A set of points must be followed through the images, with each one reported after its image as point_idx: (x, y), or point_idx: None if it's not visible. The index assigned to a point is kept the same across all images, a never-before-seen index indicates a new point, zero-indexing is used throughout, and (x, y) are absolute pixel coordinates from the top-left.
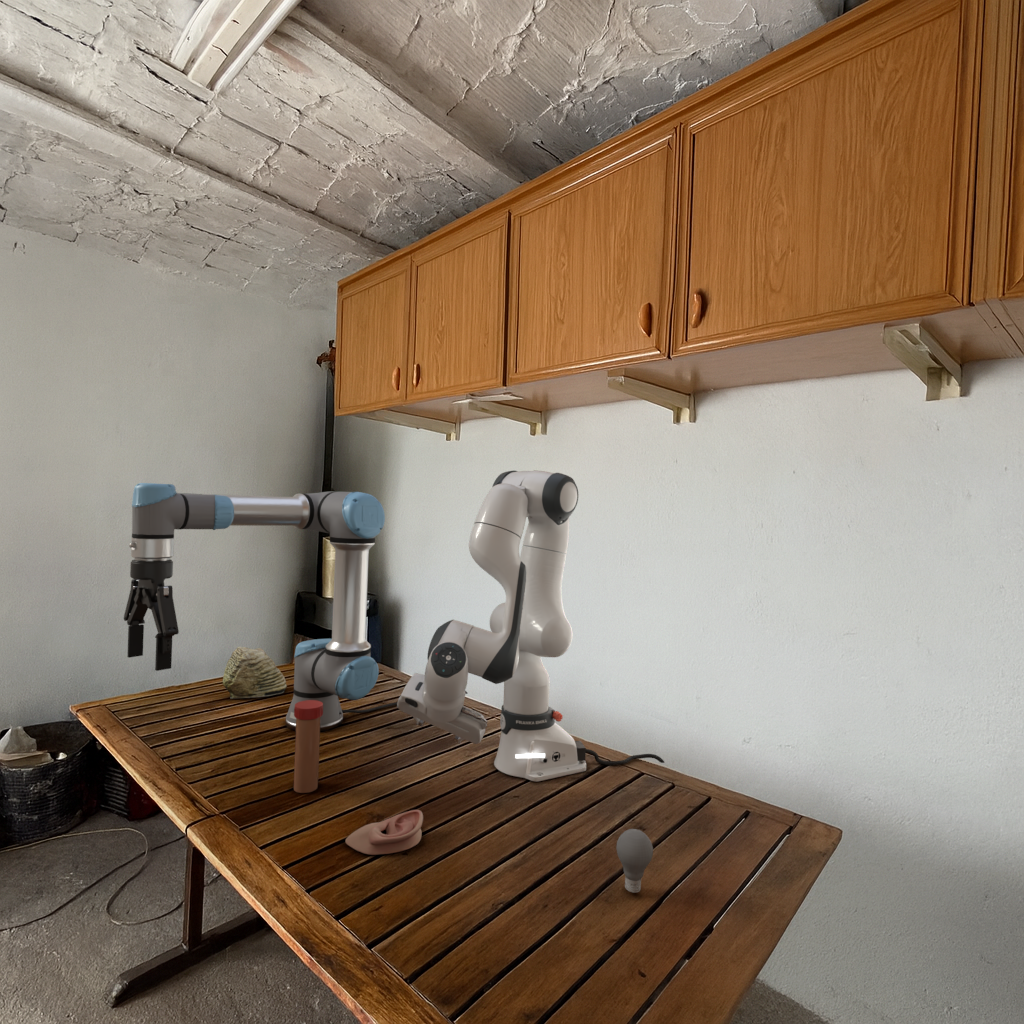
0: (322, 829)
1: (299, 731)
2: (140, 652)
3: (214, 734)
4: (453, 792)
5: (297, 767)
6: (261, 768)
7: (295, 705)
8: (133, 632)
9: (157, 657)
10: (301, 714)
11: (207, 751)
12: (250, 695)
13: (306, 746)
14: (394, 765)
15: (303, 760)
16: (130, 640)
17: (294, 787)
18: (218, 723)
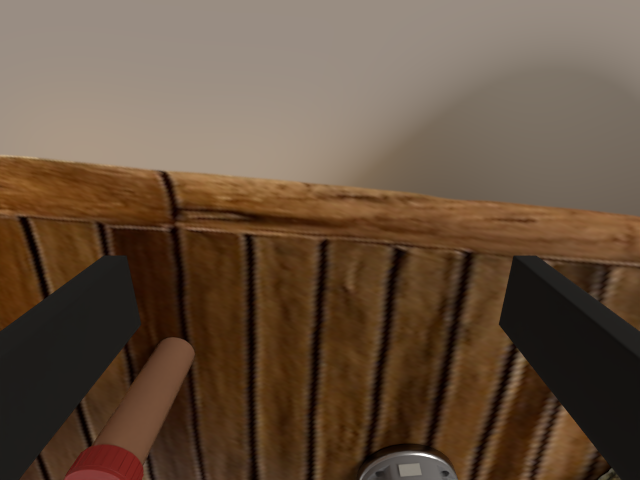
0: (30, 303)
1: (115, 421)
2: (510, 324)
3: (498, 358)
4: (36, 463)
5: (152, 365)
6: (293, 343)
7: (105, 473)
8: (632, 390)
9: (49, 297)
10: (83, 458)
11: (433, 318)
12: (611, 475)
13: (119, 403)
14: (165, 464)
15: (135, 380)
16: (585, 323)
17: (174, 340)
18: (542, 385)
